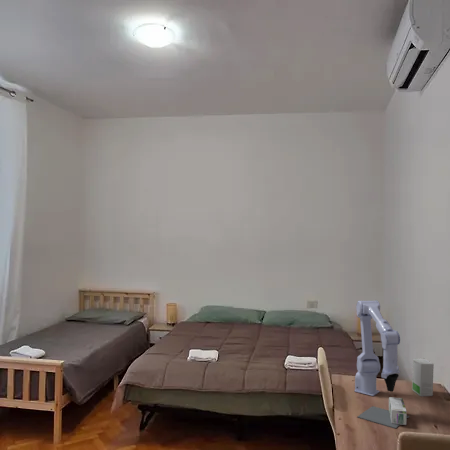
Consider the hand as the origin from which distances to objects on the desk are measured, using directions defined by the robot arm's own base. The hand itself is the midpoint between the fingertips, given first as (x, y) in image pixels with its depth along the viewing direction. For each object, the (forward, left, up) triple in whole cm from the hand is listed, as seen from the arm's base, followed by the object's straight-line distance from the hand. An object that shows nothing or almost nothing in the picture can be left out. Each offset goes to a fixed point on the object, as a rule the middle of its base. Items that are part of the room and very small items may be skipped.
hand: (390, 390), depth 195 cm
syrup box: (+1, +2, -6) cm, 6 cm away
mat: (0, -7, -9) cm, 12 cm away
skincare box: (+3, +32, -9) cm, 33 cm away
